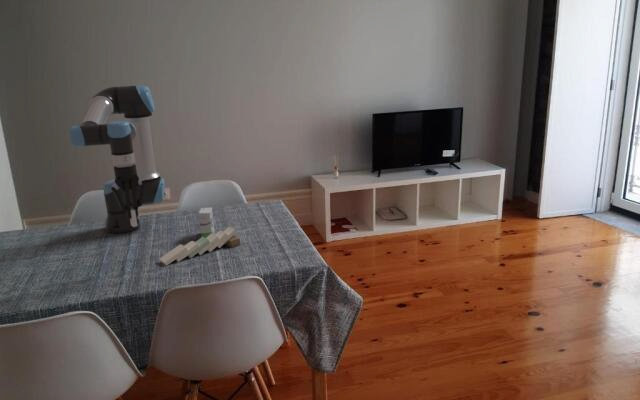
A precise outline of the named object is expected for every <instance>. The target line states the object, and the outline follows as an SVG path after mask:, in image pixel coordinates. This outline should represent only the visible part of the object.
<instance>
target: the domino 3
mask: <svg viewBox="0 0 640 400" xmlns="http://www.w3.org/2000/svg"><path fill="white" fill-rule="evenodd" d="M194 242H195V243H197V244H198V245H199V247H198V248H197V249H196V250H194V251H193V252H192V253H190V254H189V255H188V256H187V257H188V259H192V258H193V257H195V255H197V254H198V252H199V251H200V250H202V249H203V248H204V247H205V246H207V245H208V244H209V243H210V241H209V240H208V239H206V238H205V237H200V238H199V239H198V240H196V241H194Z"/></svg>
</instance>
